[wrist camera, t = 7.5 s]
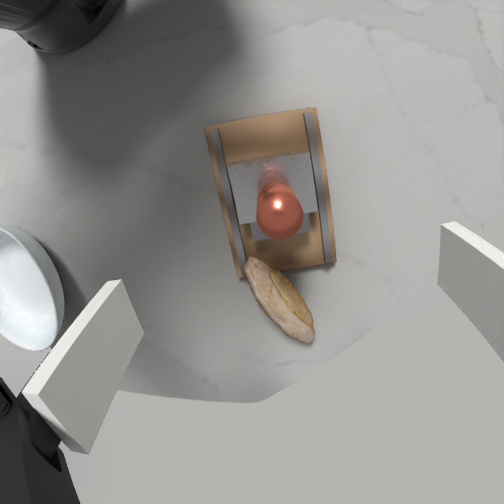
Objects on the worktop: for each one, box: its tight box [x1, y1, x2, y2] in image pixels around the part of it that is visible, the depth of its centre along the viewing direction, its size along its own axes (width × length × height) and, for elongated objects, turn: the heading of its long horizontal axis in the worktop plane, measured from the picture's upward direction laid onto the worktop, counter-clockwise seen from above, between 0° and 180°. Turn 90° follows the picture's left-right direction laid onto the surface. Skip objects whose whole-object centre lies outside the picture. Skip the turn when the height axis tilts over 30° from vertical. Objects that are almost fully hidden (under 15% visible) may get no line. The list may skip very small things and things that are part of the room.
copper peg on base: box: [228, 151, 318, 241], centre depth 27 cm, size 8×8×13 cm
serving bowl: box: [0, 223, 64, 351], centre depth 37 cm, size 21×21×7 cm
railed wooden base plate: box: [204, 107, 337, 278], centre depth 34 cm, size 18×12×2 cm, turn 11°
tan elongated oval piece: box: [244, 257, 315, 343], centre depth 37 cm, size 5×14×4 cm
